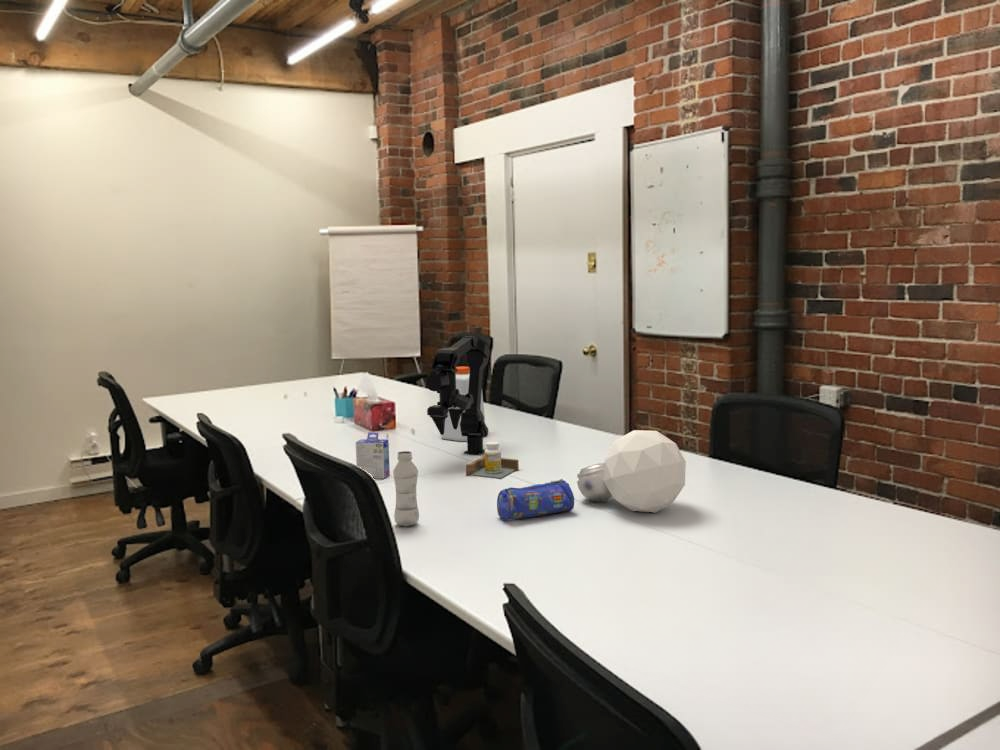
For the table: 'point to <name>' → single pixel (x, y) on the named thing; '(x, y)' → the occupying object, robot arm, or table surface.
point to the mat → (499, 475)
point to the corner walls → (480, 464)
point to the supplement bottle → (492, 458)
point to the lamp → (637, 472)
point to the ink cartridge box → (373, 456)
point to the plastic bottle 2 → (455, 434)
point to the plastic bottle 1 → (405, 490)
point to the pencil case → (535, 500)
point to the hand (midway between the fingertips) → (448, 431)
